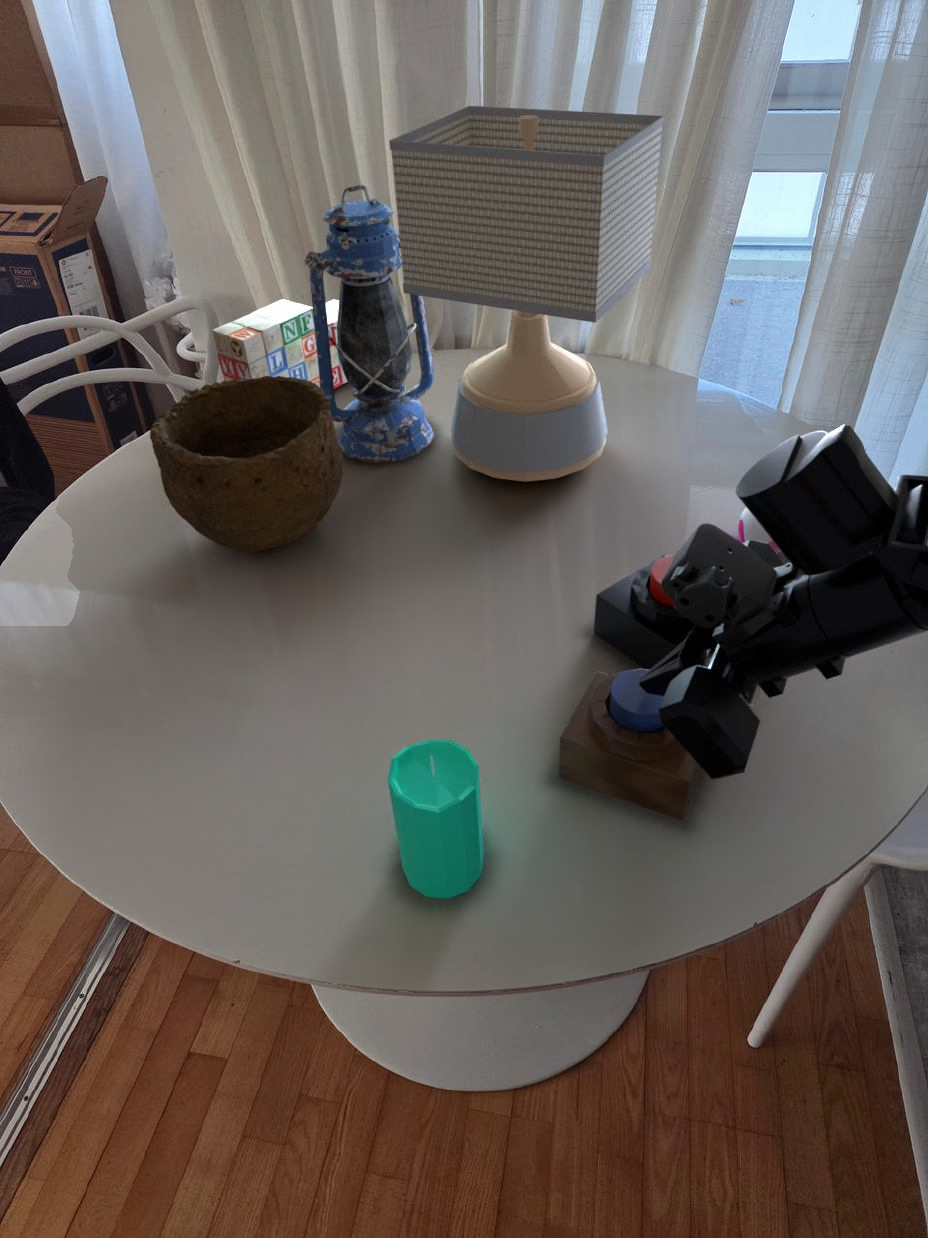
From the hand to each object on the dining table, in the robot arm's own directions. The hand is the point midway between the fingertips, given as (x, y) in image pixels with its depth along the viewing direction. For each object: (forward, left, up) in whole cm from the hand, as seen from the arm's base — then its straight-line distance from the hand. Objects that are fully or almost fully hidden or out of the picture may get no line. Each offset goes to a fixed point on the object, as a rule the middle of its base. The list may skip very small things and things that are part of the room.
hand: (643, 685), depth 63 cm
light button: (-1, -15, -3) cm, 15 cm away
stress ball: (-8, -32, -9) cm, 34 cm away
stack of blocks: (+55, -55, -9) cm, 78 cm away
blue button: (0, 0, -3) cm, 3 cm away
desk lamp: (+20, -45, -9) cm, 50 cm away
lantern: (+39, -45, -9) cm, 60 cm away
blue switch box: (0, 0, -9) cm, 9 cm away
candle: (+12, +13, -9) cm, 20 cm away
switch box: (-1, -15, -9) cm, 17 cm away
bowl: (+44, -22, -9) cm, 50 cm away
